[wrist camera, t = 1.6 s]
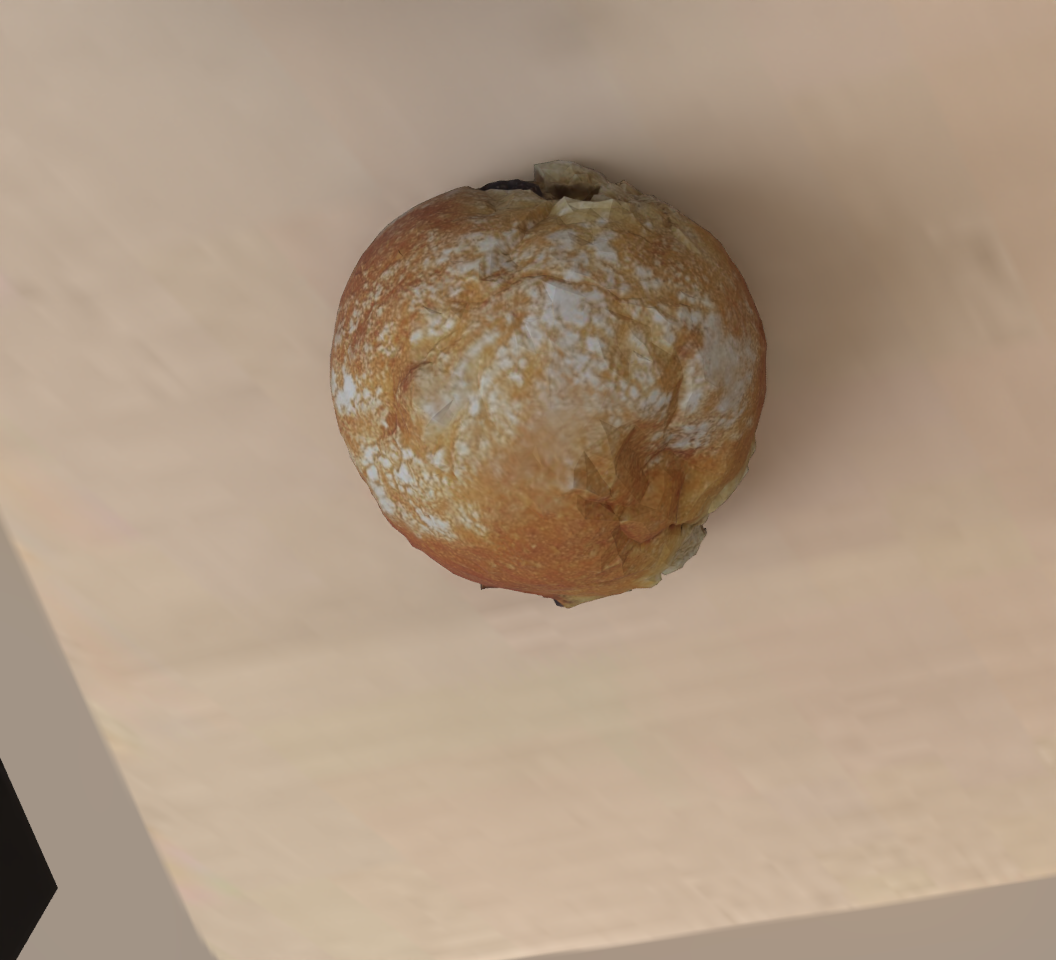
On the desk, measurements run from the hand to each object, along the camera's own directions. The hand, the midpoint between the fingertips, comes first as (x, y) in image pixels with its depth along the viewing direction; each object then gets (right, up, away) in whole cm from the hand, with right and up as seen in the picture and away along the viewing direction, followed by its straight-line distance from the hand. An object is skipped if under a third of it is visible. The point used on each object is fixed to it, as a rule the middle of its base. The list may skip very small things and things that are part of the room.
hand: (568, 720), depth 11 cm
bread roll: (0, +5, +14) cm, 15 cm away
